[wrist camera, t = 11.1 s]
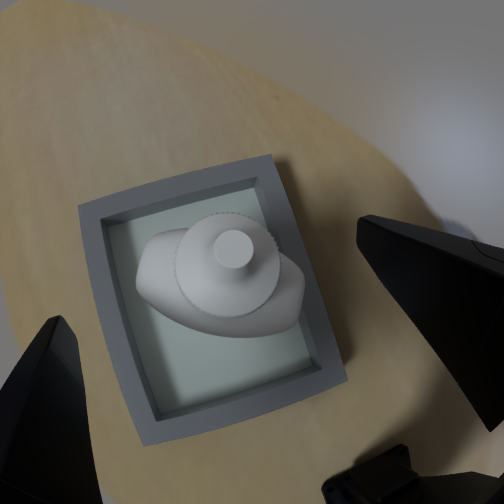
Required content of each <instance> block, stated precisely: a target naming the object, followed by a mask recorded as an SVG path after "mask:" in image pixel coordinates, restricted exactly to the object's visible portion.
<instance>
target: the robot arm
mask: <svg viewBox="0 0 504 504" xmlns="http://www.w3.org/2000/svg"><path fill="white" fill-rule="evenodd" d="M356 243H357V246H358V248H359V250H360V251H361V253H362V254H363V256H364V257H365V259H366V260H367V262H368V263H369V265H370V266H371V268H372V269H373V271H374V272H375V274H376V275H377V277H378V278H379V280H380V281H381V282H382V284H383V285H384V286H385V288H386V289H387V290H388V291H389V293H390V294H391V295H392V296H393V298H394V299H395V300H396V301H397V303H398V304H399V305H400V306H401V308H402V309H403V310H404V312H405V313H406V314H407V315H408V317H409V318H410V319H411V321H412V322H413V323H414V324H415V326H416V327H417V328H418V330H419V331H420V332H421V334H422V335H423V336H424V338H425V339H426V340H427V342H428V343H429V344H430V346H431V347H432V348H433V350H434V351H435V352H436V354H437V355H438V357H439V358H440V359H441V361H442V362H443V364H444V365H445V366H446V368H447V369H448V371H449V372H450V373H451V375H452V376H453V378H454V379H455V381H456V382H458V383H457V384H458V385H459V387H460V388H461V390H462V391H463V393H464V394H465V396H466V397H467V399H468V400H469V402H470V403H471V405H472V406H473V408H474V409H475V411H476V412H477V414H478V415H479V417H480V419H481V420H482V422H483V423H484V425H485V427H486V428H487V429H488V431H489V432H491V431H493V430H494V429H495V428H496V427H497V426H498V425H499V424H500V423H501V422H502V421H503V420H504V249H503V248H499V247H495V246H491V245H488V244H484V243H481V242H477V241H474V240H471V241H470V240H469V239H466V238H463V237H459V236H455V235H452V234H448V233H444V232H440V231H436V230H433V229H429V228H425V227H421V226H417V225H413V224H409V223H405V222H400V221H396V220H392V219H388V218H383V217H379V216H375V215H366V216H363V217H360V218H359V219H358V221H357V236H356ZM401 449H402V451H401V452H400V450H401ZM399 452H400V453H399ZM329 487H332V488H331V489H330V490H327V489H328V488H329ZM321 491H322V493H323V496H324V499H325V502H326V504H504V473H503V474H502V475H501V476H500V477H499V478H497V477H493V476H489V475H484V474H481V473H477V472H472V471H471V472H464V473H457V474H449V475H440V476H429V477H421V476H419V475H418V473H416V472H415V471H413V470H412V469H411V463H410V457H409V451H408V447H407V446H405V445H403V444H399V445H397V446H396V447H394V448H392V449H391V450H389V451H387V452H385V453H384V454H381V455H379V456H377V457H375V458H374V459H372V460H370V461H368V462H366V463H364V464H362V465H360V466H358V467H356V468H354V469H352V470H351V471H349V472H347V473H345V474H343V475H341V476H339V477H337V478H335V479H332V480H330V481H328V482H326V483H324V484H323V485H322V488H321ZM0 504H103V502H102V498H101V493H100V489H99V484H98V479H97V474H96V469H95V464H94V458H93V452H92V446H91V439H90V432H89V424H88V415H87V406H86V395H85V386H84V380H83V374H82V368H81V362H80V355H79V348H78V341H77V338H76V336H75V334H74V333H73V331H72V330H71V328H70V327H69V325H68V324H67V322H66V321H65V319H64V318H63V317H62V316H60V315H58V316H54V317H51V318H49V319H48V320H47V321H46V322H45V324H44V325H43V326H42V328H41V329H40V331H39V332H38V333H37V335H36V336H35V338H34V339H33V341H32V342H31V343H30V345H29V346H28V348H27V349H26V351H25V352H24V354H23V355H22V357H21V358H20V360H19V361H18V363H17V365H16V366H15V367H14V369H13V370H12V372H11V374H10V375H9V377H8V378H7V380H6V382H5V383H4V385H3V386H2V388H1V390H0Z"/></svg>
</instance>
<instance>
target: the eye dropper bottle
mask: <svg viewBox="0 0 504 504" xmlns="http://www.w3.org/2000/svg"><path fill="white" fill-rule="evenodd" d="M276 243H277V242H275V241H274V237H272V236H271V233H269V232H268V231H267V229H266V228H264V226H263V225H260V223H259V222H256V221H255V219H251V218H250V216H248V217H246V216H245V215H244V214H243V215H241V214H240V213H237V214H235V213H234V212H232V213H229V212H226V213H224V212H221V213H216V214H215V215H214V214H211V215H210V216H206V217H205V218H201V220H200V221H196V224H192V227H190V228H181V229H174V230H169V231H164V232H161V233H158V234H156V235H154V236H153V237H151V238H150V239H149V240H148V242H147V243H146V245H145V247H144V250H143V253H142V256H141V260H140V263H139V267H138V271H137V276H136V289H137V291H138V293H139V295H140V296H141V298H142V299H143V300H145V301H146V302H147V303H148V304H149V305H150V306H151V307H153V308H154V309H155V310H157V311H158V312H160V313H161V314H163V315H164V316H166V317H167V318H169V319H171V320H173V321H175V322H177V323H179V324H181V325H183V326H185V327H188V328H190V329H193V330H196V331H199V332H202V333H206V334H210V335H215V336H221V337H229V338H255V337H264V336H270V335H274V334H278V333H282V332H285V331H287V330H289V329H290V328H292V327H293V326H295V324H296V322H297V320H298V318H299V315H300V311H301V307H302V302H303V296H304V290H305V278H304V274H303V273H302V271H301V269H300V268H299V267H298V266H297V265H296V264H295V263H294V262H293V261H291V260H290V259H289V258H288V257H286V256H285V255H284V254H282V253H281V252H279V251H278V248H279V247H278V246H276Z"/></svg>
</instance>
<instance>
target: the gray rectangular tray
mask: <svg viewBox="0 0 504 504" xmlns="http://www.w3.org/2000/svg"><path fill="white" fill-rule="evenodd" d="M78 211H79V218H80V226H81V232H82V239H83V245H84V251H85V256H86V262H87V267H88V272H89V277H90V281H91V286H92V291H93V295H94V299H95V304H96V308H97V312H98V316H99V319H100V323H101V327H102V331H103V334H104V338H105V341H106V345H107V348H108V351H109V355H110V358H111V361H112V364H113V367H114V371H115V374H116V377H117V379H118V382H119V385H120V388H121V391H122V394H123V397H124V399H125V402H126V405H127V407H128V410H129V412H130V415H131V418H132V420H133V423H134V425H135V427H136V430H137V432H138V435H139V437H140V439H141V442H142V444H143V446H148V445H153V444H158V443H162V442H167V441H172V440H176V439H180V438H184V437H188V436H192V435H196V434H200V433H204V432H208V431H211V430H215V429H218V428H222V427H225V426H229V425H232V424H235V423H238V422H242V421H245V420H248V419H251V418H254V417H257V416H260V415H263V414H266V413H269V412H271V411H274V410H277V409H280V408H282V407H285V406H288V405H290V404H293V403H296V402H298V401H301V400H303V399H306V398H308V397H311V396H313V395H316V394H318V393H320V392H323V391H325V390H327V389H330V388H332V387H334V386H337V385H339V384H341V383H343V382H345V381H348V379H347V376H346V372H345V369H344V365H343V362H342V359H341V355H340V352H339V349H338V345H337V342H336V339H335V336H334V332H333V329H332V326H331V323H330V320H329V317H328V313H327V310H326V307H325V304H324V301H323V298H322V295H321V292H320V289H319V286H318V283H317V280H316V277H315V274H314V271H313V268H312V265H311V262H310V259H309V256H308V253H307V250H306V248H305V245H304V242H303V239H302V236H301V233H300V231H299V228H298V225H297V222H296V219H295V217H294V214H293V211H292V208H291V206H290V203H289V200H288V198H287V195H286V192H285V190H284V187H283V184H282V182H281V179H280V176H279V174H278V171H277V169H276V166H275V163H274V161H273V158H272V156H271V154H269V155H264V156H259V157H254V158H249V159H245V160H240V161H236V162H231V163H227V164H222V165H218V166H214V167H209V168H205V169H201V170H197V171H193V172H189V173H185V174H181V175H177V176H174V177H170V178H166V179H162V180H159V181H155V182H152V183H148V184H145V185H141V186H138V187H134V188H131V189H128V190H124V191H121V192H118V193H114V194H111V195H108V196H105V197H102V198H99V199H96V200H93V201H90V202H87V203H84V204H81V205H78ZM221 212H224V213H226V212H229V213H232V212H234V213H235V214H237V213H240V214H241V215H243V214H244V215H245V216H246V217H248V216H250V218H251V219H255V221H256V222H259V223H260V225H263V226H264V228H266V229H267V231H268V232H269V233H271V236H272V237H274V241H275V242H277V243H276V246H278V247H279V248H278V251H279V252H281V253H282V254H284V255H285V256H286V257H288V258H289V259H290V260H291V261H293V262H294V263H295V264H296V265H297V266H298V267H299V268H300V269H301V271H302V273H303V274H304V278H305V290H304V296H303V302H302V307H301V311H300V315H299V318H298V320H297V322H296V324H295V326H293V327H292V328H290V329H289V330H287V331H285V332H282V333H278V334H274V335H270V336H264V337H255V338H229V337H221V336H215V335H210V334H206V333H202V332H199V331H196V330H193V329H190V328H188V327H185V326H183V325H181V324H179V323H177V322H175V321H173V320H171V319H169V318H167V317H166V316H164V315H163V314H161V313H160V312H158V311H157V310H155V309H154V308H153V307H151V306H150V305H149V304H148V303H147V302H146V301H145V300H143V299H142V298H141V296H140V295H139V293H138V291H137V289H136V276H137V271H138V267H139V263H140V260H141V256H142V253H143V250H144V247H145V245H146V243H147V242H148V240H149V239H150V238H151V237H153V236H154V235H156V234H158V233H161V232H164V231H169V230H174V229H181V228H190V227H192V224H196V221H200V220H201V218H205V217H206V216H210V215H211V214H214V215H215V214H216V213H221Z"/></svg>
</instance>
